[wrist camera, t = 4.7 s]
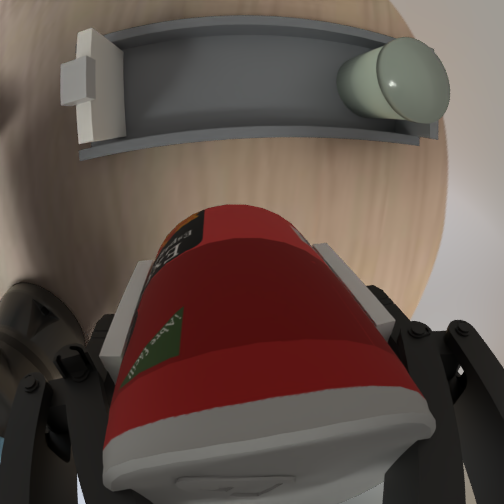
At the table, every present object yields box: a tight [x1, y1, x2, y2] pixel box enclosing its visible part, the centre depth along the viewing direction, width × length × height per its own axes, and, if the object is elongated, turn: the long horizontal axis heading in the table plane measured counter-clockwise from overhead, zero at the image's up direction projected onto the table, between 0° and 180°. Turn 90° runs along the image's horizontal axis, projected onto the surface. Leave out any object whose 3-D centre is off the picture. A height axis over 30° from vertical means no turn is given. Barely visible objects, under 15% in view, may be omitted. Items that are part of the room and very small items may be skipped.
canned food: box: [103, 205, 436, 504], centre depth 9 cm, size 8×8×11 cm
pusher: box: [60, 28, 127, 144], centre depth 17 cm, size 2×9×10 cm, turn 2°
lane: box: [76, 15, 438, 161], centre depth 20 cm, size 33×12×7 cm, turn 92°
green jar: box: [336, 37, 450, 124], centre depth 20 cm, size 7×7×9 cm
